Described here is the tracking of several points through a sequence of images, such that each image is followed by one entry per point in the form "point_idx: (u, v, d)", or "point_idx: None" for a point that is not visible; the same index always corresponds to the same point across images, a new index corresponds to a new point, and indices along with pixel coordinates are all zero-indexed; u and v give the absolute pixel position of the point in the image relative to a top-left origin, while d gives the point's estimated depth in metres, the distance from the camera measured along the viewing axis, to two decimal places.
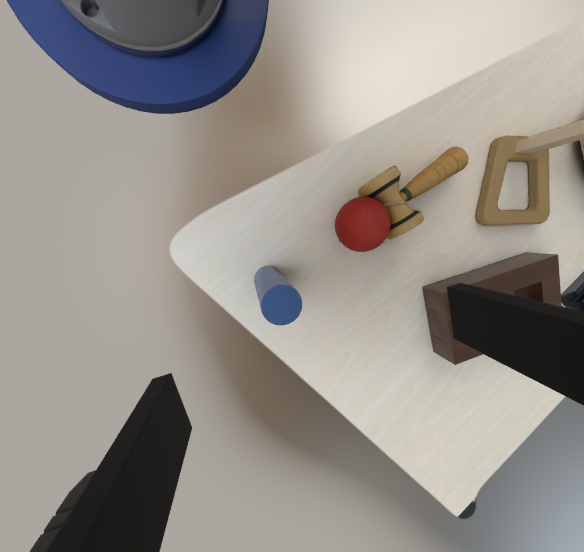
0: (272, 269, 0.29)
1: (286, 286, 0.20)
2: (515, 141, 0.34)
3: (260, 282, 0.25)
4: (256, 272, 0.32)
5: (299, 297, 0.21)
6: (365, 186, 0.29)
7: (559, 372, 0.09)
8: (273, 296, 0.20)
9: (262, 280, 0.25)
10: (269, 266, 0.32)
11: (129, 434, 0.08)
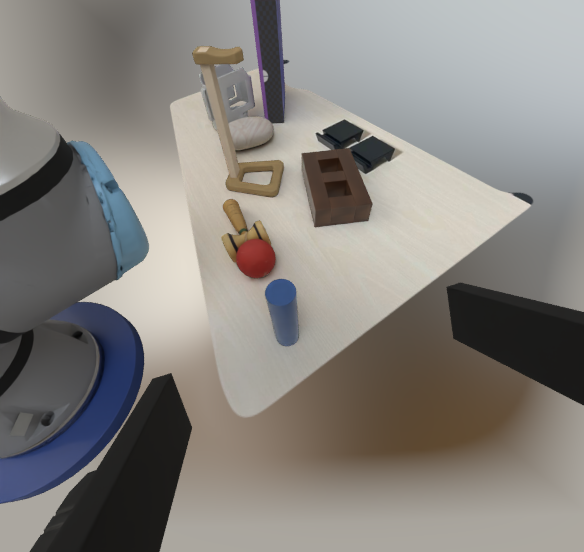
0: None
1: (267, 287, 0.28)
2: (230, 178, 0.55)
3: (274, 322, 0.31)
4: (279, 342, 0.37)
5: (277, 280, 0.28)
6: (229, 254, 0.41)
7: (560, 372, 0.09)
8: (272, 296, 0.27)
9: (272, 320, 0.31)
10: None
11: (129, 434, 0.08)
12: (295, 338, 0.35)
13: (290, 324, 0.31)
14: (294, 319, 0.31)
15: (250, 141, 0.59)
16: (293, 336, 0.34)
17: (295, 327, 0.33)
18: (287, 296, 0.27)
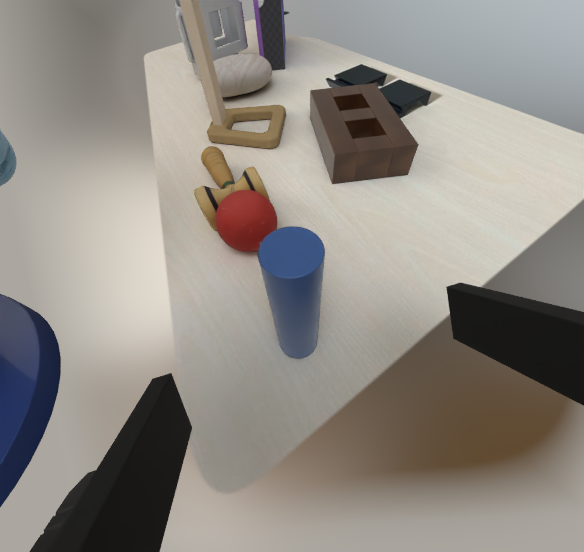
0: None
1: (262, 242, 0.13)
2: (213, 125, 0.41)
3: (276, 316, 0.16)
4: (285, 353, 0.22)
5: (283, 228, 0.14)
6: (206, 215, 0.27)
7: (560, 372, 0.09)
8: (273, 259, 0.13)
9: (273, 313, 0.16)
10: None
11: (129, 434, 0.08)
12: (313, 345, 0.21)
13: (308, 320, 0.16)
14: (315, 311, 0.16)
15: (241, 81, 0.45)
16: (310, 342, 0.20)
17: (315, 327, 0.18)
18: (306, 259, 0.12)
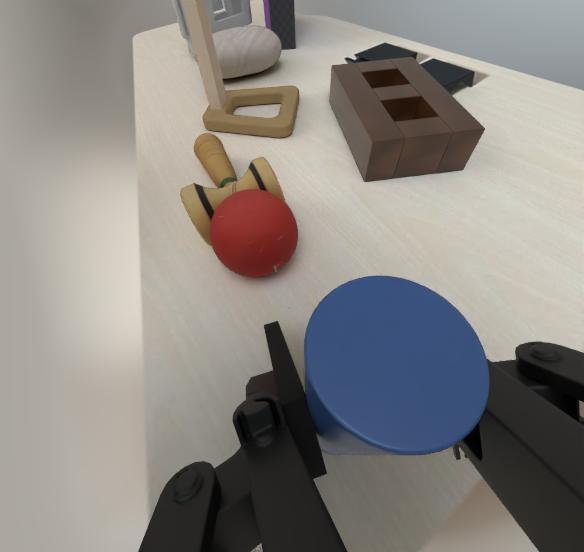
0: None
1: (313, 320, 0.05)
2: (210, 109, 0.33)
3: (322, 437, 0.08)
4: None
5: (360, 281, 0.06)
6: (197, 225, 0.19)
7: None
8: (350, 379, 0.05)
9: (316, 429, 0.08)
10: None
11: (279, 350, 0.11)
12: None
13: None
14: None
15: (244, 58, 0.37)
16: None
17: None
18: (443, 380, 0.04)
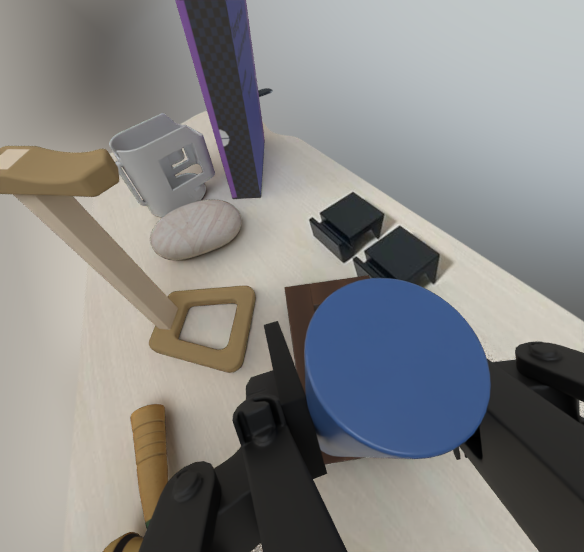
0: None
1: (313, 323, 0.05)
2: (158, 330, 0.31)
3: (322, 439, 0.08)
4: None
5: (361, 283, 0.06)
6: None
7: None
8: (351, 382, 0.05)
9: (316, 431, 0.08)
10: None
11: (279, 350, 0.11)
12: None
13: None
14: None
15: (199, 249, 0.35)
16: None
17: None
18: (444, 383, 0.04)
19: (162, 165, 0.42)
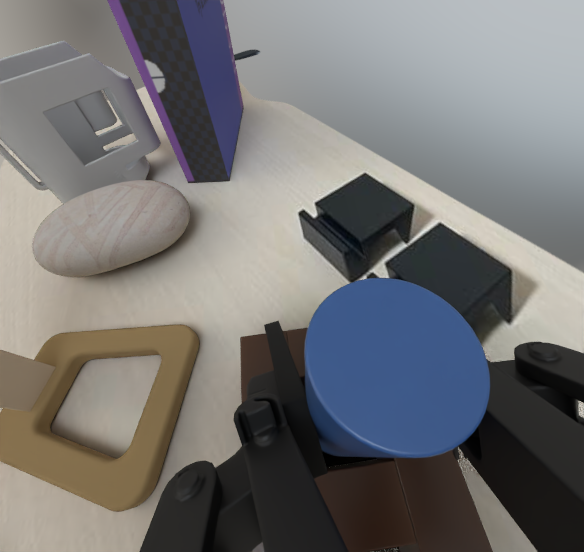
0: None
1: (313, 323, 0.05)
2: (8, 412, 0.17)
3: (322, 439, 0.08)
4: None
5: (361, 283, 0.06)
6: None
7: None
8: (351, 382, 0.05)
9: None
10: None
11: (279, 350, 0.11)
12: None
13: None
14: None
15: (109, 260, 0.21)
16: None
17: None
18: (443, 382, 0.04)
19: (77, 130, 0.28)
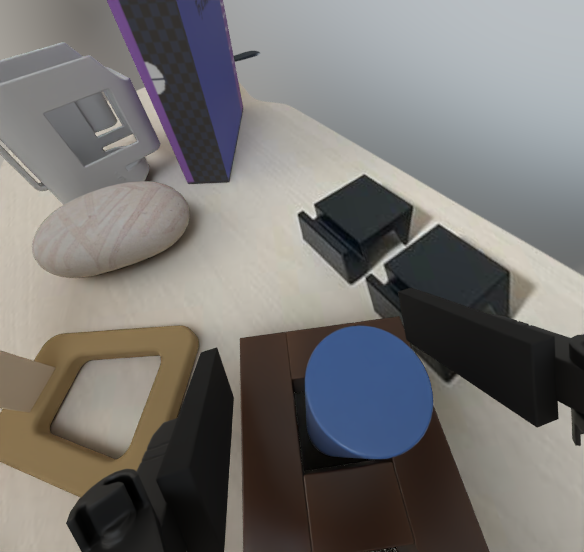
0: None
1: (311, 361, 0.07)
2: (8, 412, 0.17)
3: (319, 443, 0.10)
4: None
5: (346, 330, 0.08)
6: None
7: (479, 370, 0.10)
8: (337, 406, 0.07)
9: (314, 437, 0.10)
10: None
11: (197, 390, 0.09)
12: None
13: None
14: None
15: (109, 261, 0.21)
16: None
17: None
18: (400, 407, 0.06)
19: (77, 131, 0.28)
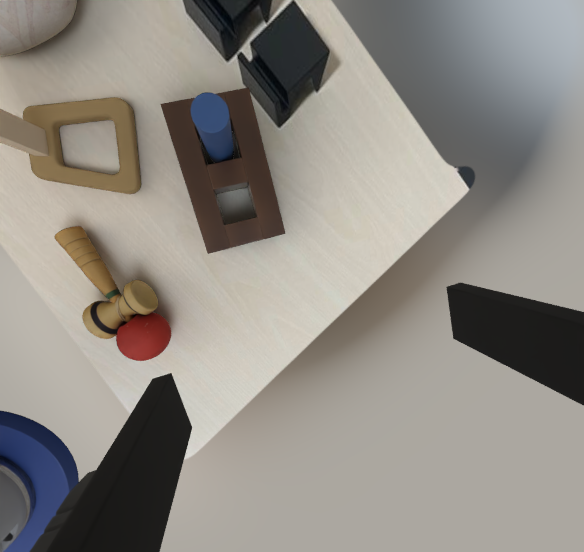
0: None
1: (191, 106, 0.23)
2: (35, 157, 0.30)
3: (206, 145, 0.28)
4: (214, 162, 0.34)
5: (202, 94, 0.23)
6: (107, 338, 0.33)
7: (560, 372, 0.09)
8: (201, 120, 0.23)
9: (204, 143, 0.28)
10: None
11: (129, 434, 0.08)
12: (231, 157, 0.33)
13: (226, 147, 0.28)
14: (229, 141, 0.28)
15: (30, 39, 0.27)
16: (229, 156, 0.32)
17: (231, 148, 0.30)
18: (219, 119, 0.23)
19: None
